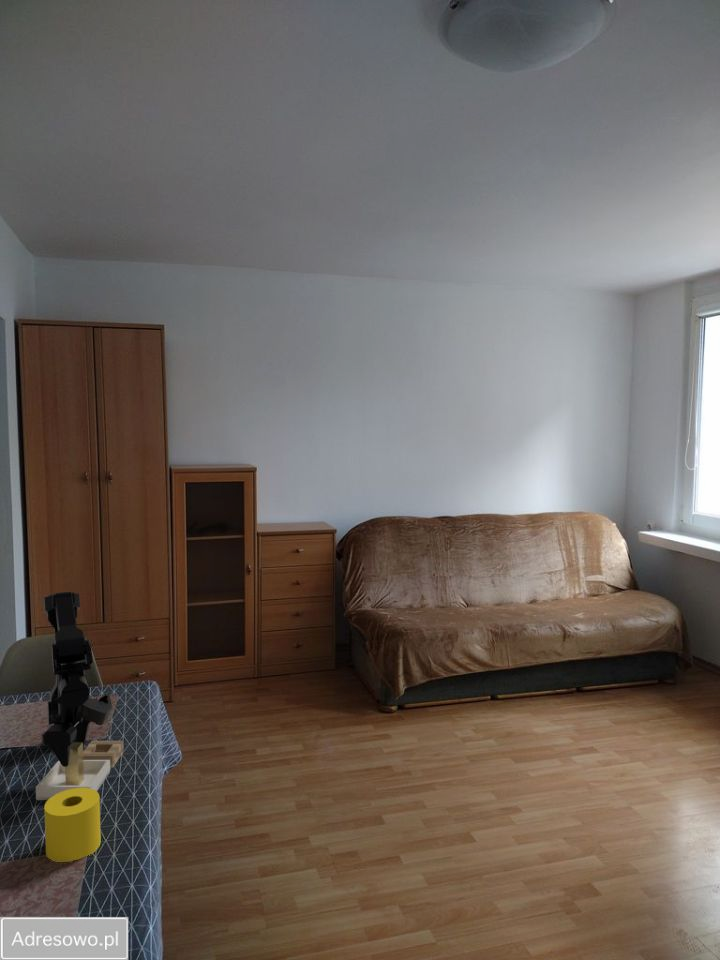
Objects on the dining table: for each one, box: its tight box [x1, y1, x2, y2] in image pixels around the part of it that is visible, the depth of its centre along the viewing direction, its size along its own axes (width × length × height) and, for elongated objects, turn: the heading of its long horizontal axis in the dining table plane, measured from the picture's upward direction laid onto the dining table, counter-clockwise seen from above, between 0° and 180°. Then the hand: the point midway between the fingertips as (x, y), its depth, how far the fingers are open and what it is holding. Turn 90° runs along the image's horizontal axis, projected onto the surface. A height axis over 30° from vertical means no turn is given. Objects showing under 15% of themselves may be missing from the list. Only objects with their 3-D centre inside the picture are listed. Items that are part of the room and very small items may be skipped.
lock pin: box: [65, 742, 84, 786], centre depth 157 cm, size 3×3×9 cm
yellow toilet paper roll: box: [44, 788, 102, 862], centre depth 134 cm, size 10×10×9 cm
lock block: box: [83, 740, 124, 769], centre depth 169 cm, size 8×8×3 cm
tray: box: [35, 760, 111, 801], centre depth 157 cm, size 12×12×3 cm
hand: (73, 756), depth 157 cm, fingers open, 9 cm apart
